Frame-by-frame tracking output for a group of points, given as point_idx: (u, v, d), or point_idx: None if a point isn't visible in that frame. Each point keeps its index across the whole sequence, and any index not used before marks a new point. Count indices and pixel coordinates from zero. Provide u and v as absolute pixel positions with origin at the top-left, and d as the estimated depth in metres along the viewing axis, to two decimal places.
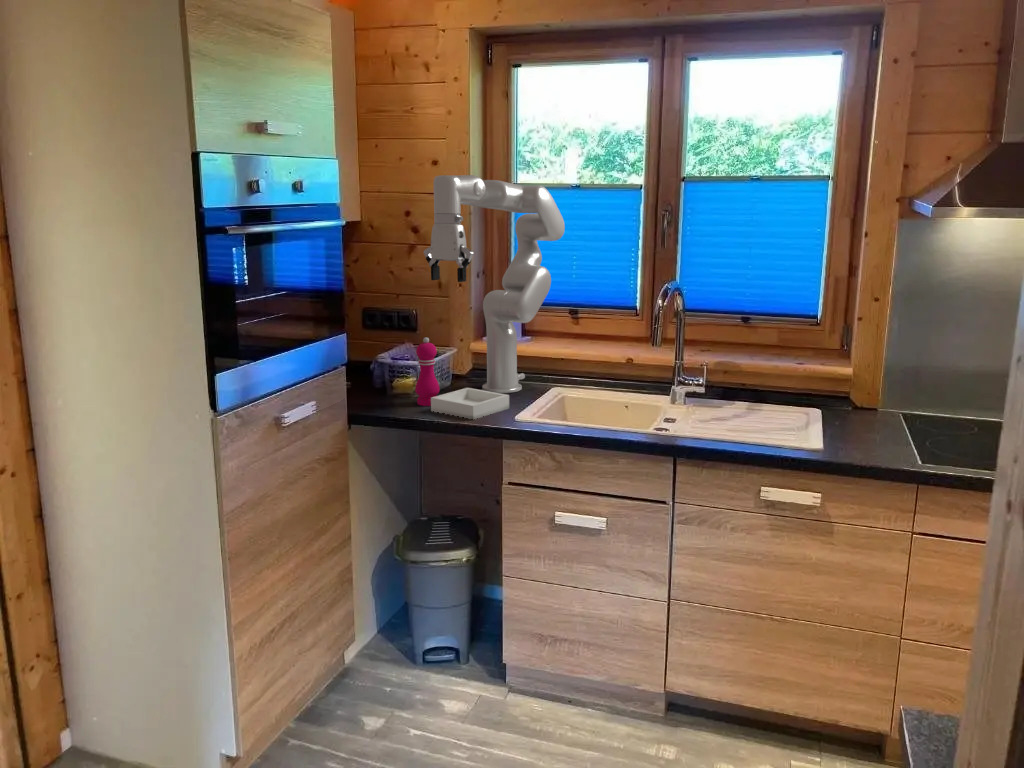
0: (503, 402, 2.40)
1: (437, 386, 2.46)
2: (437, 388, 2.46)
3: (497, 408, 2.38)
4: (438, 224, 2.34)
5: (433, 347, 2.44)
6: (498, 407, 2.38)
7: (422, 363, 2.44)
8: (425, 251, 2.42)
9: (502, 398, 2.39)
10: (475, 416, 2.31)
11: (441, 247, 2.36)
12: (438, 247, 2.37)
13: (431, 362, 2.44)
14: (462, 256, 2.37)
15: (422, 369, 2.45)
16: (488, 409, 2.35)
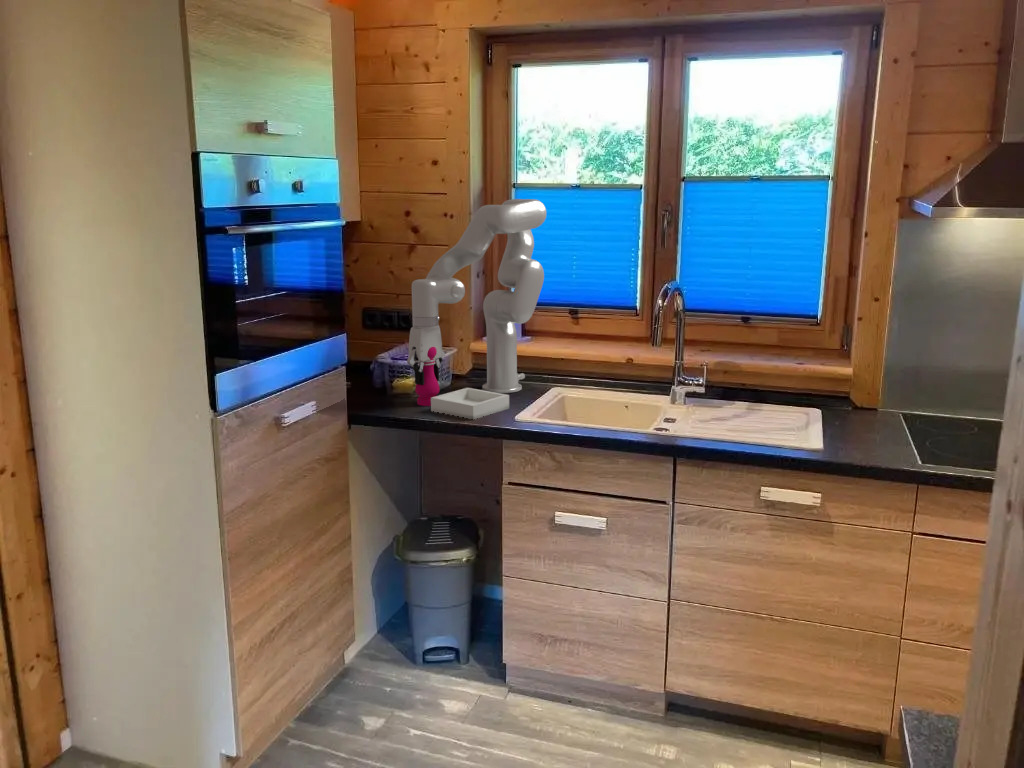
0: (503, 402, 2.40)
1: (437, 386, 2.46)
2: (437, 388, 2.46)
3: (497, 408, 2.38)
4: (434, 327, 2.41)
5: (433, 347, 2.44)
6: (498, 407, 2.38)
7: None
8: (411, 360, 2.40)
9: (502, 398, 2.39)
10: (475, 416, 2.31)
11: None
12: (428, 349, 2.42)
13: (431, 362, 2.44)
14: None
15: None
16: (488, 409, 2.35)
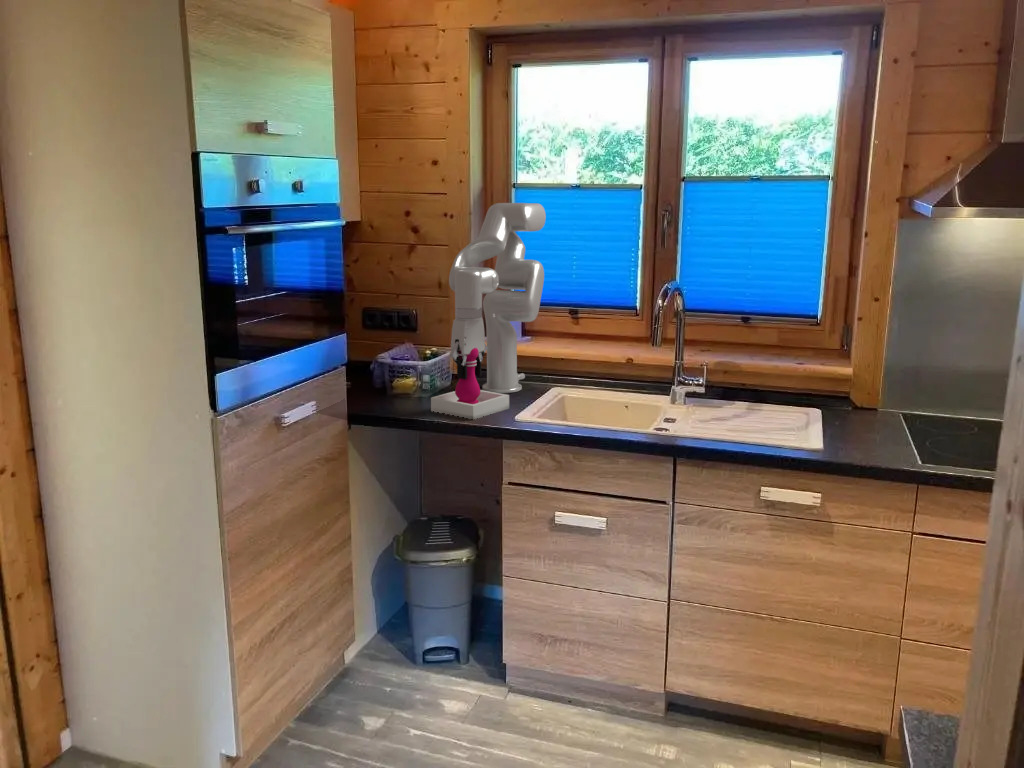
0: (503, 402, 2.40)
1: (478, 388, 2.38)
2: (478, 391, 2.38)
3: (497, 408, 2.38)
4: (478, 319, 2.33)
5: (475, 348, 2.36)
6: (498, 407, 2.38)
7: None
8: (454, 353, 2.31)
9: (502, 398, 2.39)
10: (475, 416, 2.31)
11: (474, 341, 2.35)
12: (471, 342, 2.34)
13: (473, 363, 2.36)
14: None
15: None
16: (488, 409, 2.35)
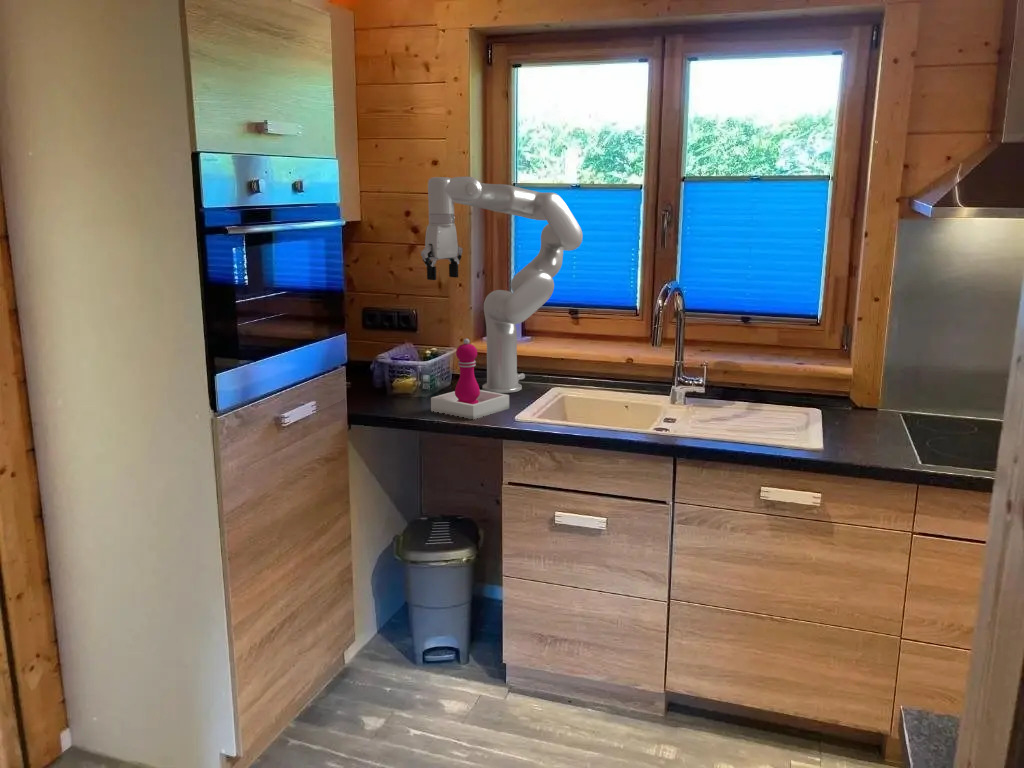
0: (503, 402, 2.40)
1: (478, 388, 2.38)
2: (478, 391, 2.38)
3: (497, 408, 2.38)
4: (450, 224, 2.44)
5: (474, 349, 2.35)
6: (498, 407, 2.38)
7: (462, 365, 2.35)
8: (425, 252, 2.41)
9: (502, 398, 2.39)
10: (475, 416, 2.31)
11: (447, 246, 2.46)
12: (444, 247, 2.45)
13: (472, 364, 2.36)
14: None
15: (462, 371, 2.36)
16: (488, 409, 2.35)
